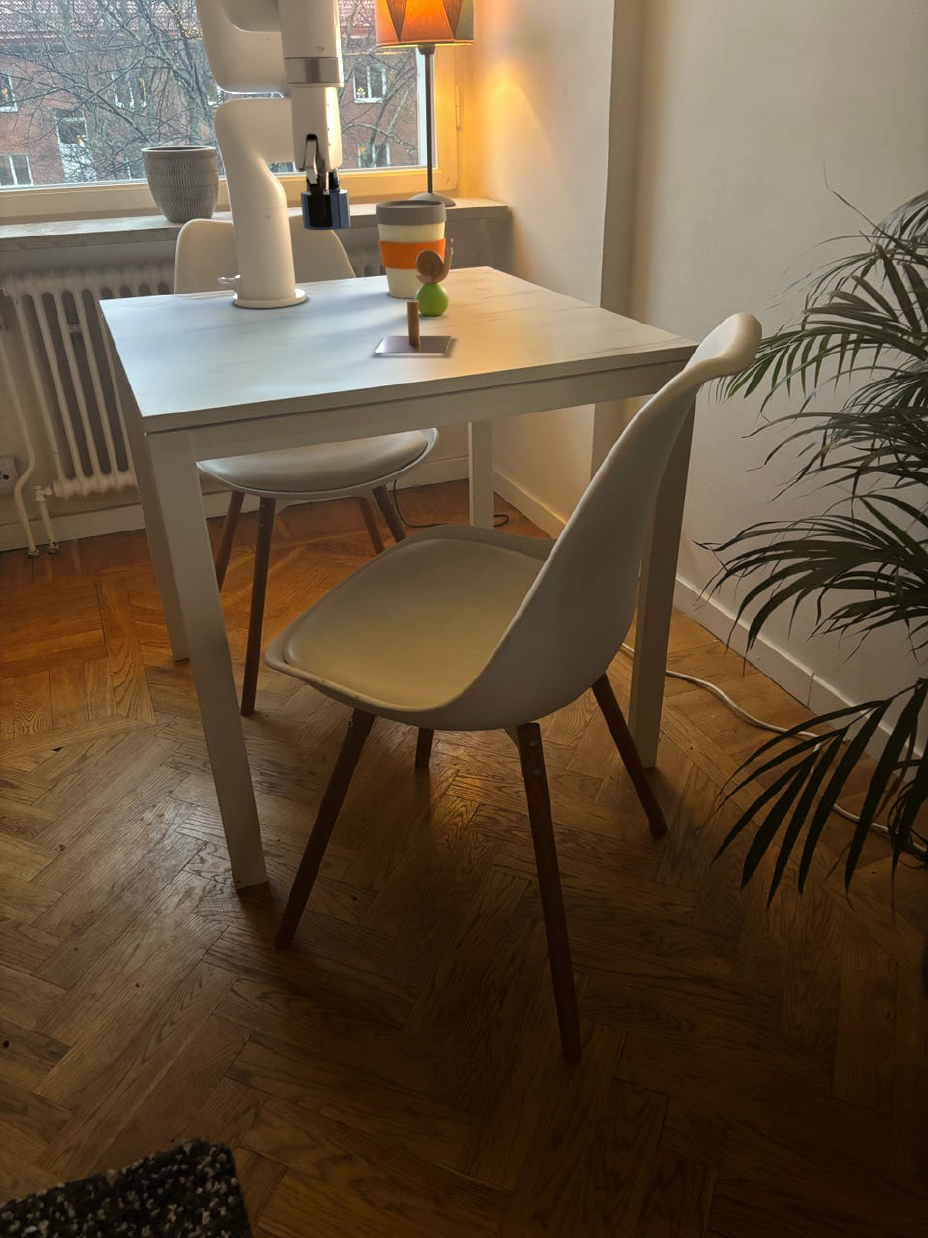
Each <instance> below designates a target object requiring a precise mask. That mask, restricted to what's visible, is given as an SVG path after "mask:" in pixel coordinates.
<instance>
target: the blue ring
mask: <svg viewBox="0 0 928 1238" xmlns="http://www.w3.org/2000/svg"><path fill="white" fill-rule="evenodd" d="M328 195H331V199H332V211H333V226H332V227H311V226H310V223H309V212H308V202H307V190H305V191H302V192H300V202H301V212H302V221H303V222H302V223H303V228H304V229H306V230H309V231H337V230H343V229H344V230H345V229H349V228H350V227H351V226H352V225H351V209H350V197H349V190H345V189H341V190H329V193H328Z"/></svg>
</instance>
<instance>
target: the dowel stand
mask: <svg viewBox="0 0 928 1238" xmlns="http://www.w3.org/2000/svg"><path fill="white" fill-rule="evenodd" d="M406 313H407V314H406V315H407V334H408V335H384V337H383V339H382V340H381V342H380V344H379V345H378V347H377V348H376V350H375V352H374V353H375V354H446V353H447V350H448V348H449V344H450V342H451V340H452V337H453V336H452V335H420V314H419V313H420V312H419V310H418V301H417V300H415V299H409V300H407V301H406Z"/></svg>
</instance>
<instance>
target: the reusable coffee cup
mask: <svg viewBox="0 0 928 1238" xmlns="http://www.w3.org/2000/svg"><path fill="white" fill-rule="evenodd" d="M447 219H448V218H447V211H446V204H445V202H444V201H441V200H434V199H433V200H432V199H431V200H430V199H405V200H404V199H403V200H402V199H401V200H390V201H382V202H379V203H376V204H375V224H377V228H378V235H379V238H378V239H377V243H378V248H379V254H380V258H381V264H382V267H384V268H385V269H384V270H385V275H386V280H387V285H388V292H389V295H390V296H391V297H394V298H398V299H399V298H400V299H415V298H416V294H417V291H418V290H419V288H420V287H421V286H423V285H424V284H423V283H421V282H420V281H419V280H418V279H417V278H416V275H420V276H422V275H421V274H420V273H419V272H418V271H417V269H416V258H417V256H418V255H419V254H420V253H421V252H422V251H424V250H433V251H435V252H437V253H438V254H439V255H440V257H441V258H442V261H443V264H444V259H445V253H444V250H445V248H446V241H447V240H446V239H447V238H446V236H445V225H446V224H445V223H446V222H447ZM440 283H441V282H439V283H437V284H440Z"/></svg>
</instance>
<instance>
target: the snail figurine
mask: <svg viewBox="0 0 928 1238" xmlns="http://www.w3.org/2000/svg"><path fill="white" fill-rule="evenodd" d="M448 243H449V244H453V243H454V239H453V238H450V239H449V240H448ZM453 255H454V248H453V246H447V247H445V250H444V263H443V261H442V258H441V257H440V255H439V254H438V253H437V252H435V251H433V250H424V251H422V252H421V253H420V254H419V255H418V256H417V258H416V269H417V271H418V272H419V273H420V274H421V275H422V276H420V275H416V278H417V279H418V280H419V281H420V282H421V283H423V284H424V285H423V286H421V287H420V288H419V290H418V291H417V294H416V298H414V300H417V301H418V310H419V313H420V314H421V315H422V316H426V317H438V316H442V315H443V314H444V313H445V312H446V311H447V309H448V307H449V303H450V302H449V301H450V297H449V294H448V292H447V290H446V288H445V287H444V286H443V285H441V284H440V283H441V282H443V281H444V280H445V279H447V277H448V275H449V272H450V269H451V265H452V260H453V259H452V257H453ZM439 282H440V283H439ZM437 283H439V284H437Z"/></svg>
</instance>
